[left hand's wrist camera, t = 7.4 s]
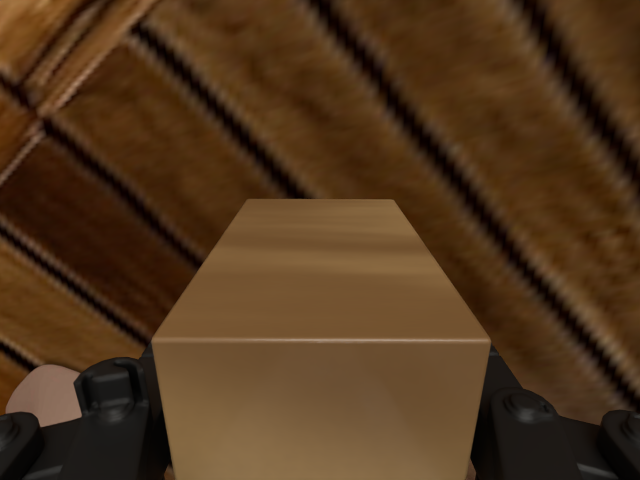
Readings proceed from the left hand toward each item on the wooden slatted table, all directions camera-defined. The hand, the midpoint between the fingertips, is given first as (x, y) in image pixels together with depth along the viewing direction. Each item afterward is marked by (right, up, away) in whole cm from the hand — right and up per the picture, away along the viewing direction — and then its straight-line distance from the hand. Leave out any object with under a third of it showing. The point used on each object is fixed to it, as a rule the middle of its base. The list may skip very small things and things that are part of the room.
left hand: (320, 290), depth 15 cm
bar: (0, -9, +4) cm, 9 cm away
